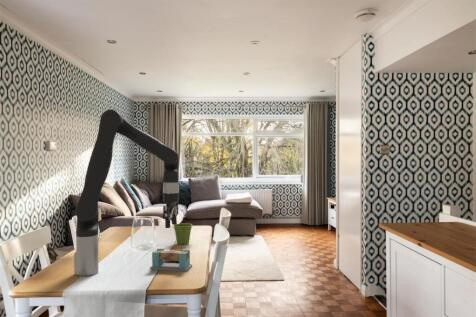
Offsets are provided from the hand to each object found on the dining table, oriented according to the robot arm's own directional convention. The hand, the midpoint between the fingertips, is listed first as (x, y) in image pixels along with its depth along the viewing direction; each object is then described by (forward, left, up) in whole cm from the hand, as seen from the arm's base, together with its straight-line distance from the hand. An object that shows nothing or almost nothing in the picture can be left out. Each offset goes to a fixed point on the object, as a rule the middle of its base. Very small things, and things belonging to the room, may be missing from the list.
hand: (170, 226), depth 171 cm
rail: (0, 0, -16) cm, 16 cm away
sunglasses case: (-4, +15, -21) cm, 25 cm away
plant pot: (-10, +48, -20) cm, 53 cm away
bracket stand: (0, 0, -20) cm, 20 cm away
